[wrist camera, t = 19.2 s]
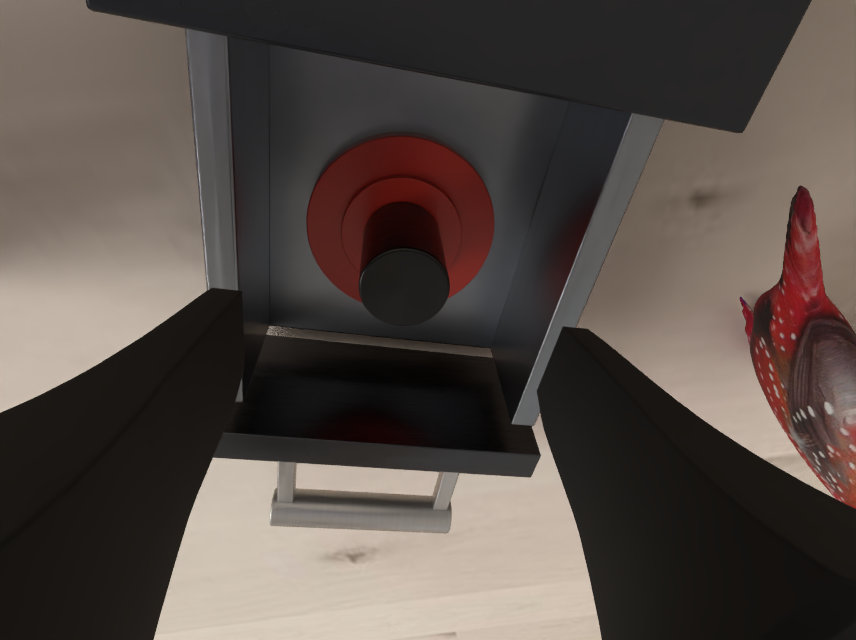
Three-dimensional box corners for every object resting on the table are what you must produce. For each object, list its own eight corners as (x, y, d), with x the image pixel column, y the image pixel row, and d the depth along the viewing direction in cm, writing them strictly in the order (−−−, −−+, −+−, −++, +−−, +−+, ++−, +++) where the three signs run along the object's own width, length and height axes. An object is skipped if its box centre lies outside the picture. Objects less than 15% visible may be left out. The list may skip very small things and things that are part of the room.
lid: (469, 311, 18) (487, 385, 15) (304, 293, 17) (284, 366, 14) (513, 149, 15) (549, 197, 12) (312, 115, 14) (289, 157, 11)
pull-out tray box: (478, 450, 24) (497, 551, 20) (243, 434, 23) (209, 540, 18) (669, -96, 13) (813, -134, 8) (213, -217, 11) (100, -342, 7)
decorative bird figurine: (751, 428, 26) (919, 635, 18) (636, 148, 17) (865, 305, 9) (808, 404, 25) (1011, 609, 17) (718, 97, 16) (1054, 217, 8)
